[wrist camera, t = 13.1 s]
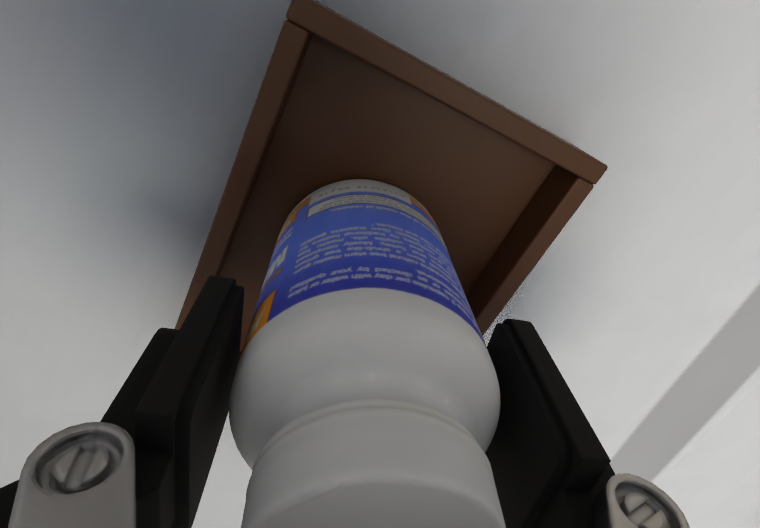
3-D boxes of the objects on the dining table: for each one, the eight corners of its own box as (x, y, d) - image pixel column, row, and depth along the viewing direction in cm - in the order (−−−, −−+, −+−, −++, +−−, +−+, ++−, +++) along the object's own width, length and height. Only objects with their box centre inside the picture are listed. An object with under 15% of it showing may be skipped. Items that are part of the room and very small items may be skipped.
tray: (303, -7, 12) (294, -10, 10) (578, 148, 14) (609, 167, 12) (179, 334, 17) (159, 371, 15) (397, 406, 19) (401, 445, 17)
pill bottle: (262, 183, 14) (111, 462, 5) (440, 165, 14) (579, 414, 5) (294, 327, 16) (229, 668, 8) (443, 312, 16) (540, 637, 8)
